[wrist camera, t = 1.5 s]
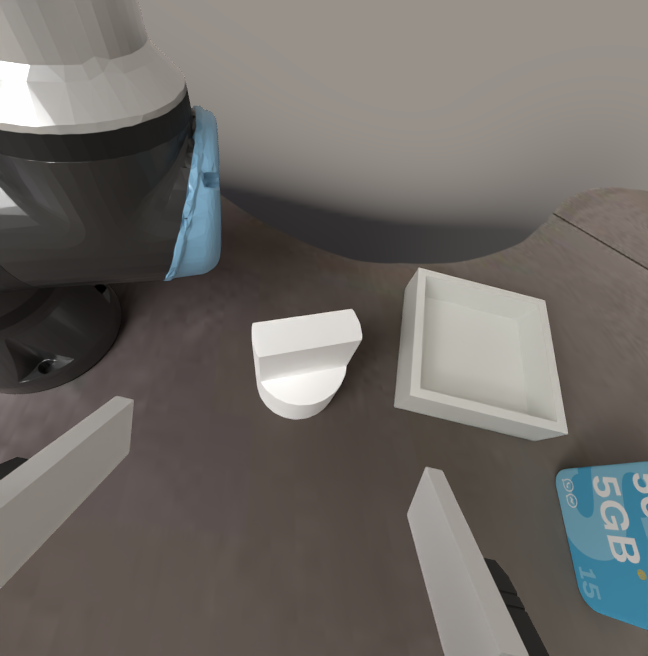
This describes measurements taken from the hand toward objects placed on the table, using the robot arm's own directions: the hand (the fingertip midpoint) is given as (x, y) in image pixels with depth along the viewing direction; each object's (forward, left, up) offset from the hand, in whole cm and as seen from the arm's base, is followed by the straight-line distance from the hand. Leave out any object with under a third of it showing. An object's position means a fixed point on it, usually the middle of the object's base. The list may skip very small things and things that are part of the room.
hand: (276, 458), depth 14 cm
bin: (+20, +19, -20) cm, 33 cm away
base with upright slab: (0, +10, -20) cm, 22 cm away
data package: (+33, +2, -20) cm, 38 cm away
